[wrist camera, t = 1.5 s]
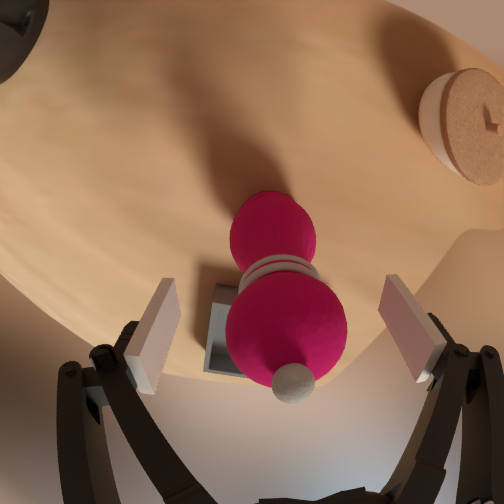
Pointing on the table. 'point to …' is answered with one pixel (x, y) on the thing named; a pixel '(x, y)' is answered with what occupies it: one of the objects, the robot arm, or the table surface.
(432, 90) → the lidded jar
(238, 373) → the bin
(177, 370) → the table surface
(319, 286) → the pepper mill
